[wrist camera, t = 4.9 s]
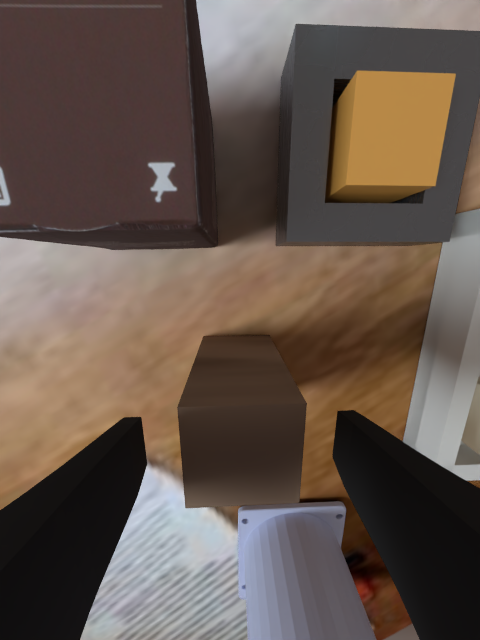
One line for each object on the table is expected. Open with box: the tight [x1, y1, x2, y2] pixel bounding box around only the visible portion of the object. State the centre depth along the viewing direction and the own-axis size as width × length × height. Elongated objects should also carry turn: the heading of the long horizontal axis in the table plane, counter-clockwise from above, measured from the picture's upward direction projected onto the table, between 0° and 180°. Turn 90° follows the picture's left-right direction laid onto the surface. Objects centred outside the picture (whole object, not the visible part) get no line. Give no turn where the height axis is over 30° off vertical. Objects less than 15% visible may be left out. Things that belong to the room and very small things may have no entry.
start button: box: [325, 71, 456, 203], centre depth 10 cm, size 4×4×3 cm
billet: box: [177, 335, 307, 508], centre depth 11 cm, size 4×4×7 cm
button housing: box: [276, 24, 480, 246], centre depth 11 cm, size 8×8×2 cm
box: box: [0, 0, 218, 250], centre depth 8 cm, size 6×6×7 cm
